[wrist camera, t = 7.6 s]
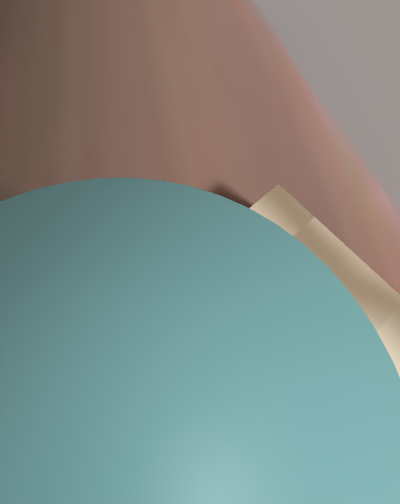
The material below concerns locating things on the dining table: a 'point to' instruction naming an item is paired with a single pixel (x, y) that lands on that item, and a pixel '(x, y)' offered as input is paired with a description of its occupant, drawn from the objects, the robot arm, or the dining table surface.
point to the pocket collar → (339, 265)
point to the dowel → (182, 357)
